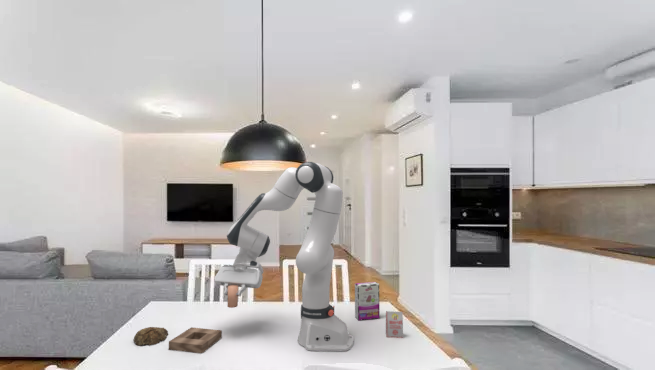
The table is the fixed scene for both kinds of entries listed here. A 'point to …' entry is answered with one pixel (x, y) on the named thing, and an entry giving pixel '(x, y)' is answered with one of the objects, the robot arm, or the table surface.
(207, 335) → the pin board
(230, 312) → the table surface
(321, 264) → the robot arm
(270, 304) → the table surface
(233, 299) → the pin
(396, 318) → the white red box
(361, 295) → the candy bar box
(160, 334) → the bread roll
